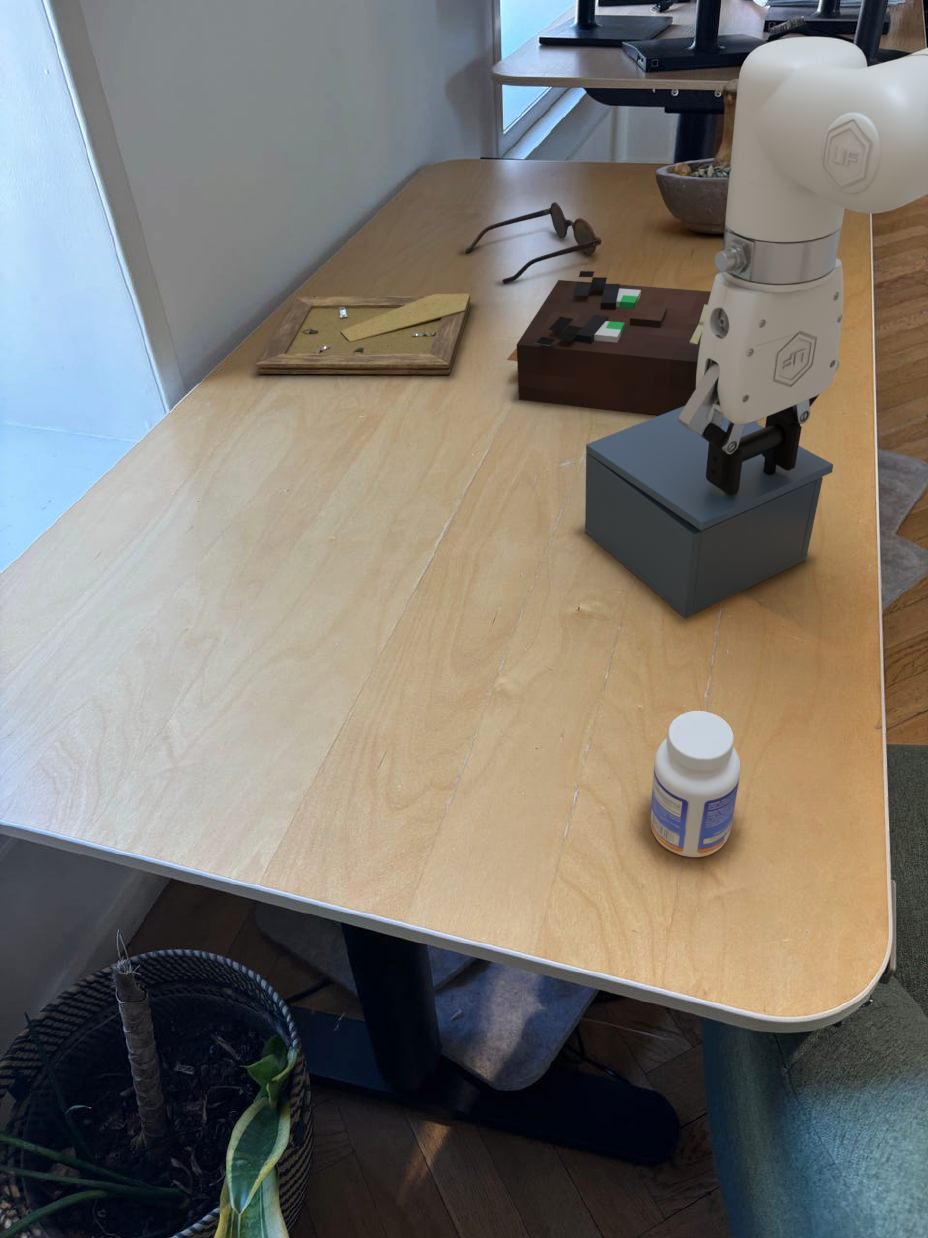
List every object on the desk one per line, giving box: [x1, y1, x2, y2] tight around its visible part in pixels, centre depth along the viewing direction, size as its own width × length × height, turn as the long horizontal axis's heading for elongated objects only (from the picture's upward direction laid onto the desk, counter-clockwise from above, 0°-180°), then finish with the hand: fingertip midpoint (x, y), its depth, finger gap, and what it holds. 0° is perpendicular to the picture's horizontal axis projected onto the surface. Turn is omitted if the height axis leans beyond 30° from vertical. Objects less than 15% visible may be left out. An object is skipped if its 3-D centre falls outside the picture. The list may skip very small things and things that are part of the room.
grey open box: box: [584, 452, 824, 619], centre depth 87 cm, size 15×14×9 cm
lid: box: [585, 406, 834, 530], centre depth 82 cm, size 15×14×5 cm
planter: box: [654, 78, 739, 235], centre depth 137 cm, size 15×17×20 cm
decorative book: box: [506, 270, 711, 416], centre depth 112 cm, size 19×8×30 cm
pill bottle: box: [649, 710, 742, 858], centre depth 65 cm, size 5×5×10 cm
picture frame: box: [256, 293, 472, 375], centre depth 125 cm, size 19×2×24 cm
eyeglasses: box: [465, 201, 602, 284], centre depth 140 cm, size 15×15×5 cm
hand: (750, 472), depth 79 cm, fingers closed on lid, 5 cm apart
